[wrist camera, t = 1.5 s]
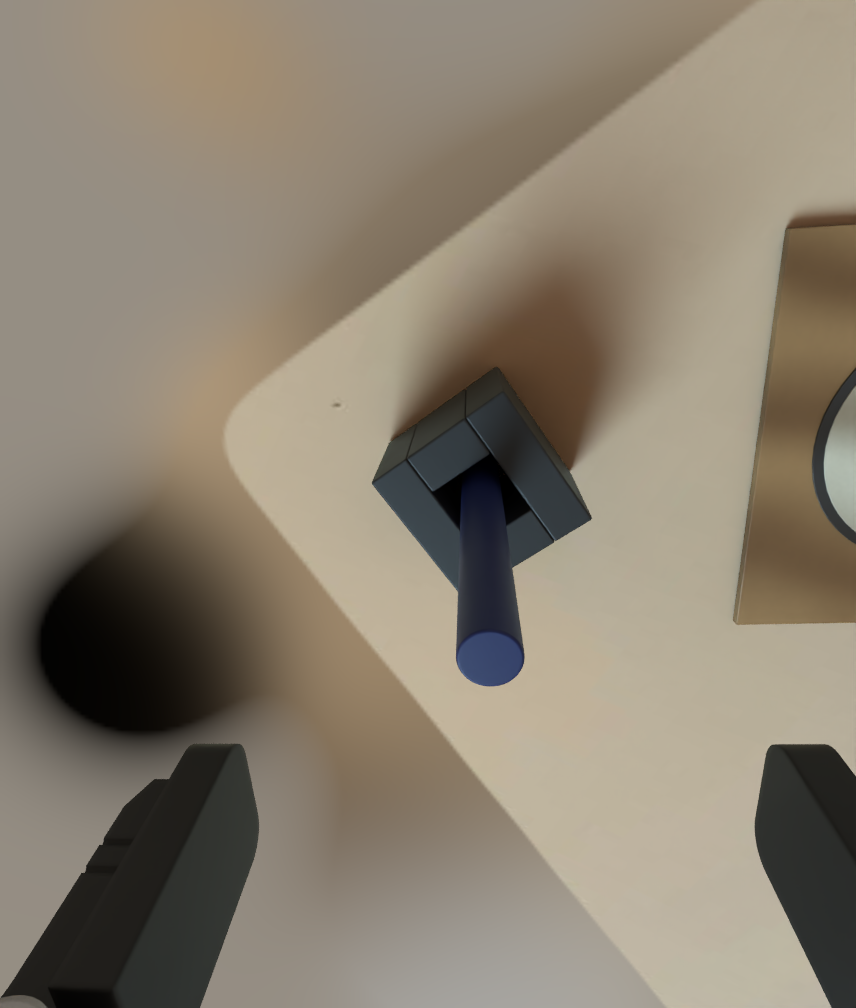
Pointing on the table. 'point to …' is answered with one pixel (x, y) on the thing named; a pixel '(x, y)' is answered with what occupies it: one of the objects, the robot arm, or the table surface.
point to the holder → (459, 445)
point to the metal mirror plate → (806, 443)
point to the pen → (486, 583)
